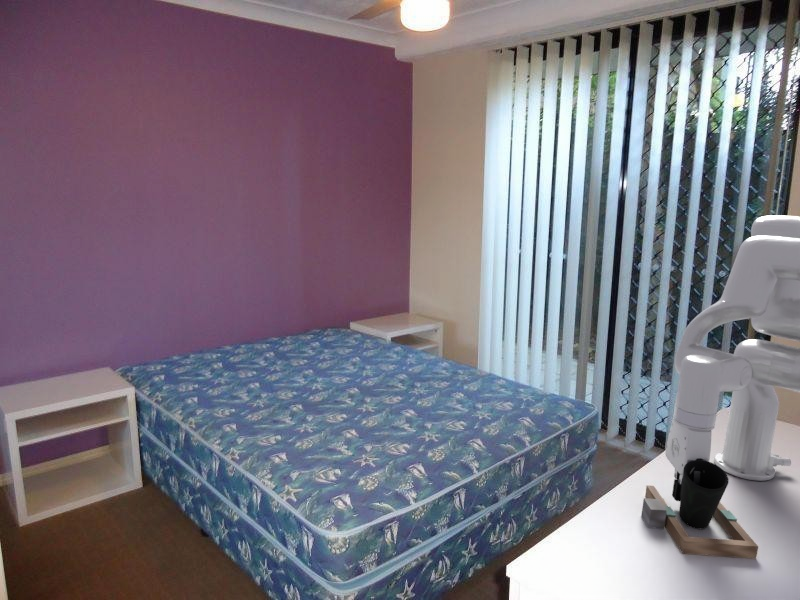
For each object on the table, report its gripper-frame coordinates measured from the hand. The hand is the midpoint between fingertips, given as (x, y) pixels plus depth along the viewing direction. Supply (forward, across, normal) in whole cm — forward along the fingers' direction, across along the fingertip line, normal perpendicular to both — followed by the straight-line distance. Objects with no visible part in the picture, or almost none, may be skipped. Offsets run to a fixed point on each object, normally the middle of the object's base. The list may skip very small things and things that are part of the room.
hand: (681, 499), depth 119 cm
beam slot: (+2, +6, -1) cm, 6 cm away
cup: (+1, +5, +1) cm, 5 cm away
